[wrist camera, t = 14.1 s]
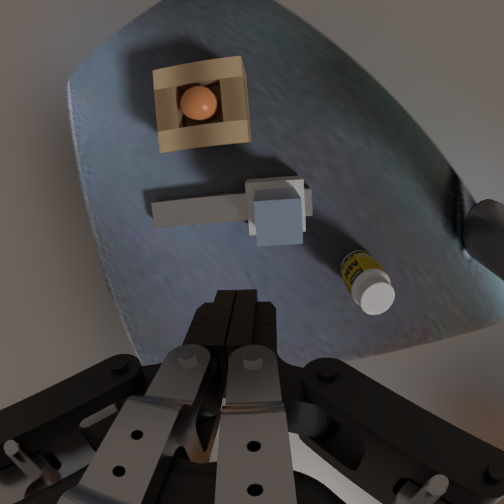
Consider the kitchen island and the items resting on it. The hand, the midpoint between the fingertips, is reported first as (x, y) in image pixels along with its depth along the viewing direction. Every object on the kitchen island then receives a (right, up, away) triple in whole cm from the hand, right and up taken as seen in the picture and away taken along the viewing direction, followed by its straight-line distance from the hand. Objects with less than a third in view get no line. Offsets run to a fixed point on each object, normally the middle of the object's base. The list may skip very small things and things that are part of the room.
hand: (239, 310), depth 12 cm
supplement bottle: (+14, 0, +26) cm, 29 cm away
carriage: (+3, +8, +23) cm, 25 cm away
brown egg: (-4, +16, +14) cm, 22 cm away
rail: (-2, +8, +23) cm, 25 cm away
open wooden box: (-4, +18, +19) cm, 27 cm away
